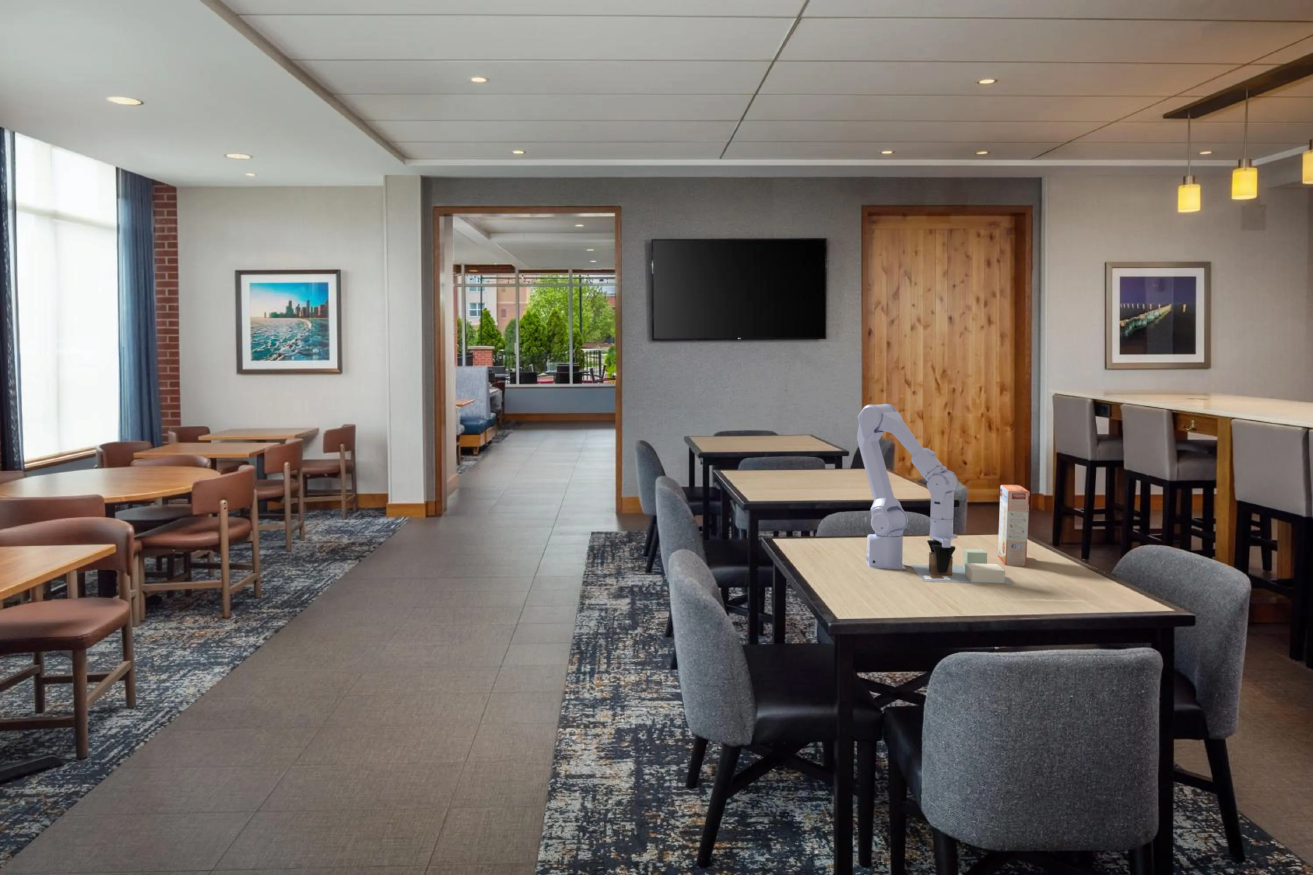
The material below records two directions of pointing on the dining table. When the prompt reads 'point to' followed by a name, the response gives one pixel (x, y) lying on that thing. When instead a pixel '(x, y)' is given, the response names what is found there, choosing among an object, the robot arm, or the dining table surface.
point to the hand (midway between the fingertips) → (940, 569)
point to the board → (957, 576)
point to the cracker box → (1013, 525)
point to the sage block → (974, 556)
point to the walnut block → (933, 565)
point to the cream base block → (984, 572)
